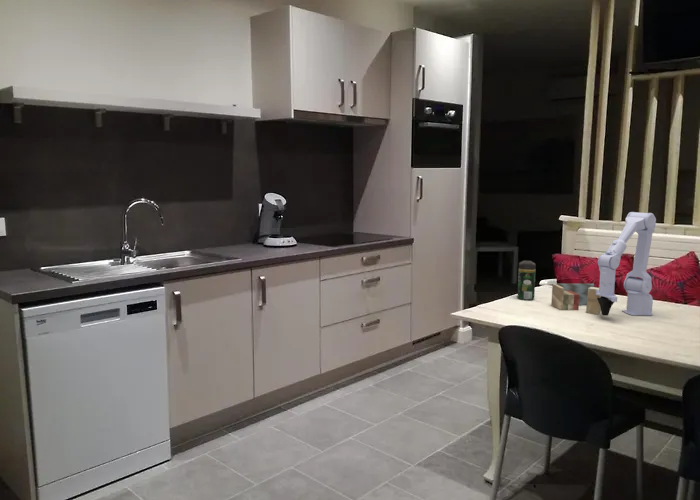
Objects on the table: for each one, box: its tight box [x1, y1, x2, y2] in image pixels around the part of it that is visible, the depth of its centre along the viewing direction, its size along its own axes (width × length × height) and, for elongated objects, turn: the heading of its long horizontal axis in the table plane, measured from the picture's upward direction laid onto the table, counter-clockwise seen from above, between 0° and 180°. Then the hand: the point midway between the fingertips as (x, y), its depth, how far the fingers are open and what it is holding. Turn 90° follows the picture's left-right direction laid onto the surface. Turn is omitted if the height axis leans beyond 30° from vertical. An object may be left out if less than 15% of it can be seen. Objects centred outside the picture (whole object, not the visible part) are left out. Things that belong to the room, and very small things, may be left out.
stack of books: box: [550, 283, 595, 311], centre depth 249 cm, size 20×10×10 cm, turn 91°
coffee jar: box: [517, 260, 537, 301], centre depth 267 cm, size 10×8×19 cm
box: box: [585, 286, 602, 315], centre depth 239 cm, size 5×4×11 cm
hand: (604, 315), depth 230 cm, fingers closed
